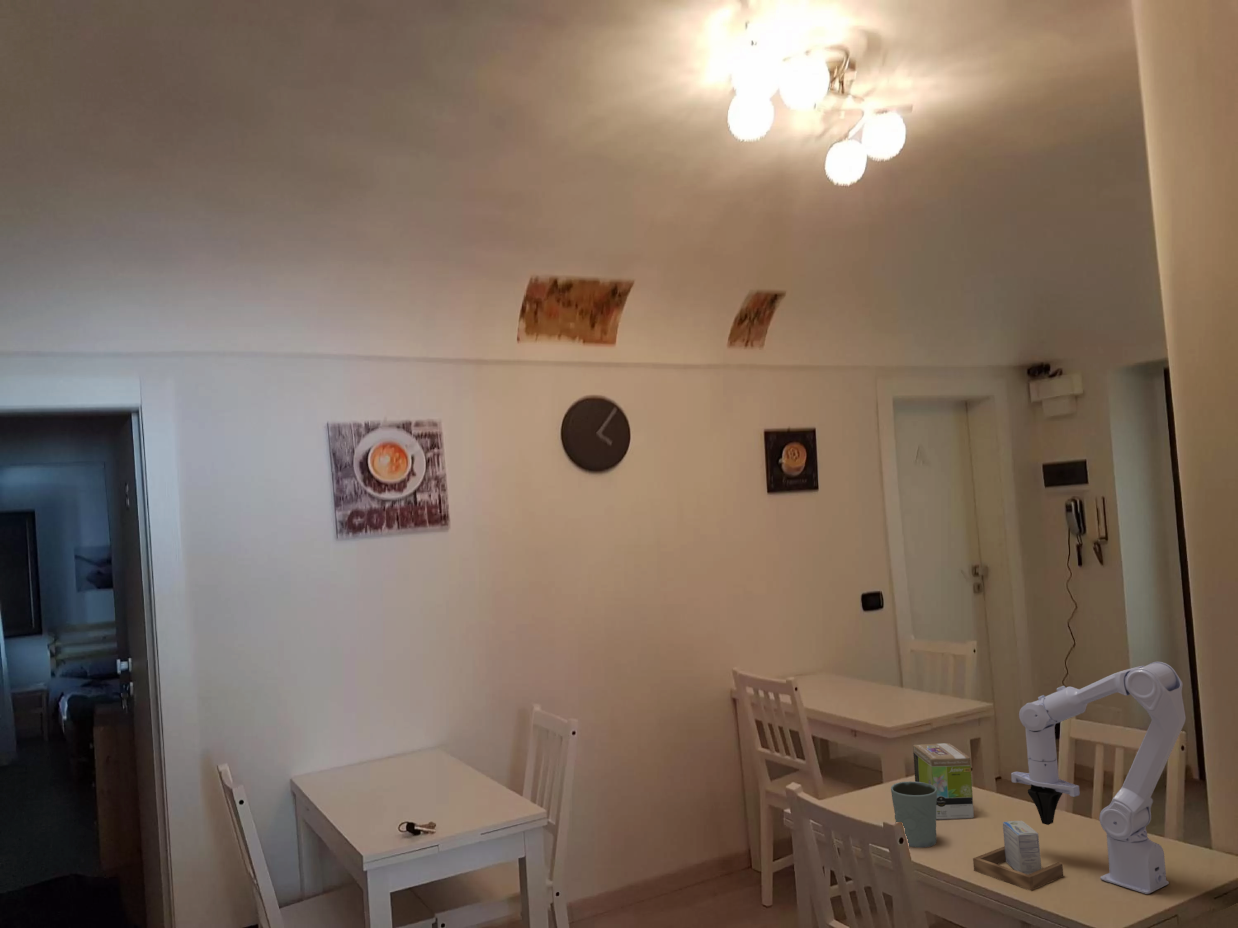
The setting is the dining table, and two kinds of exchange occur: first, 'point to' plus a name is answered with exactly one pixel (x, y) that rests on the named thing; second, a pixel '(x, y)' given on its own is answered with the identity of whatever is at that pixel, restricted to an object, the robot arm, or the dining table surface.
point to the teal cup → (916, 811)
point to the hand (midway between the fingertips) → (1047, 822)
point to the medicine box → (1021, 847)
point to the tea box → (946, 778)
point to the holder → (1031, 881)
